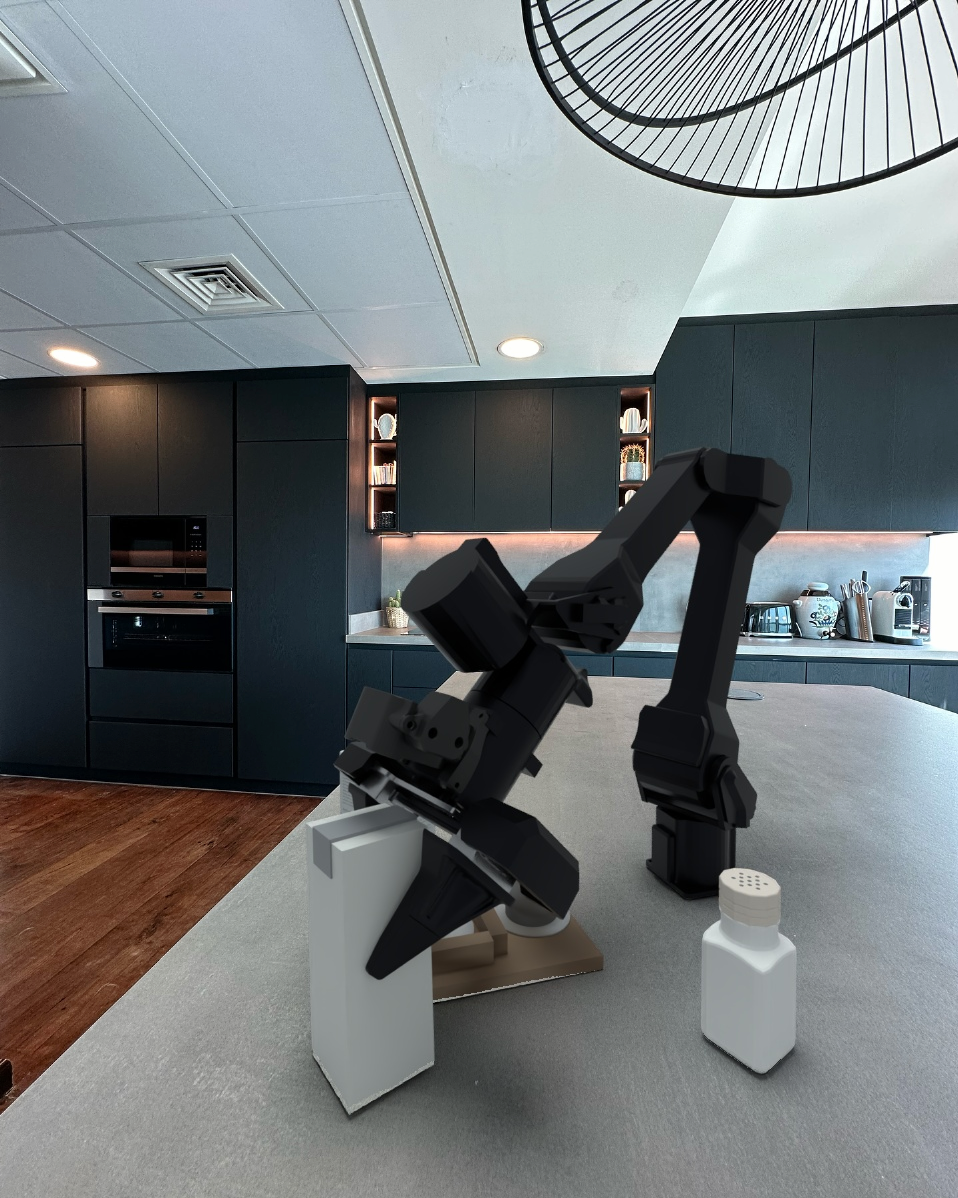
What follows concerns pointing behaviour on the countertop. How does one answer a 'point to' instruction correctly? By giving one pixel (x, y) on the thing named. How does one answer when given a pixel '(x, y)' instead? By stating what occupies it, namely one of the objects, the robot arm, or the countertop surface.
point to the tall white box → (365, 951)
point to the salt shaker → (749, 972)
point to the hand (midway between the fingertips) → (348, 949)
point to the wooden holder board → (510, 949)
